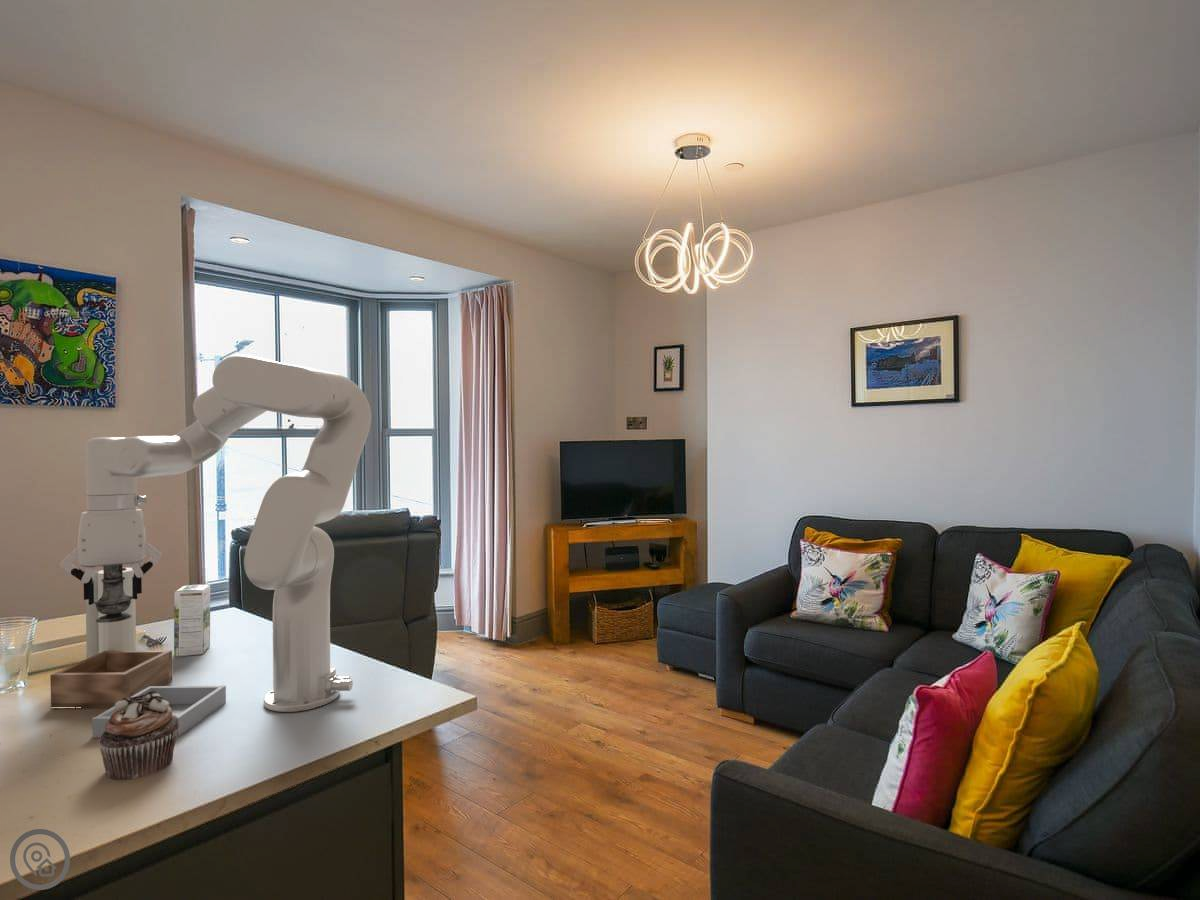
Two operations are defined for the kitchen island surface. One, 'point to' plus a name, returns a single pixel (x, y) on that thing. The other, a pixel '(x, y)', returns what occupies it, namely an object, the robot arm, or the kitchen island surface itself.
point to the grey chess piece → (113, 596)
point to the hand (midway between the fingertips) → (113, 599)
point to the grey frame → (199, 696)
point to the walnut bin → (109, 678)
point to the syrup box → (191, 620)
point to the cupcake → (139, 737)
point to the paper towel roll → (110, 633)
